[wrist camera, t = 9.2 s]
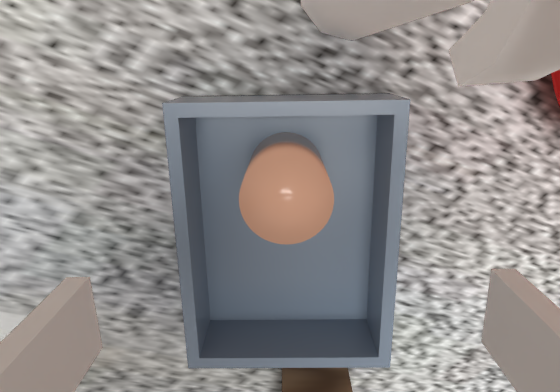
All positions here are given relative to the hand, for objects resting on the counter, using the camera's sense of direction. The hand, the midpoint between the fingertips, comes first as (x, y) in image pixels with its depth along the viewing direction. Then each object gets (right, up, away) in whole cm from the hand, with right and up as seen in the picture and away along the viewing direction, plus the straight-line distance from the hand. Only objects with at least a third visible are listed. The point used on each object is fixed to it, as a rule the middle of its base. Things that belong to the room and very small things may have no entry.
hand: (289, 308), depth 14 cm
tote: (0, +2, +17) cm, 17 cm away
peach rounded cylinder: (0, +6, +15) cm, 16 cm away
